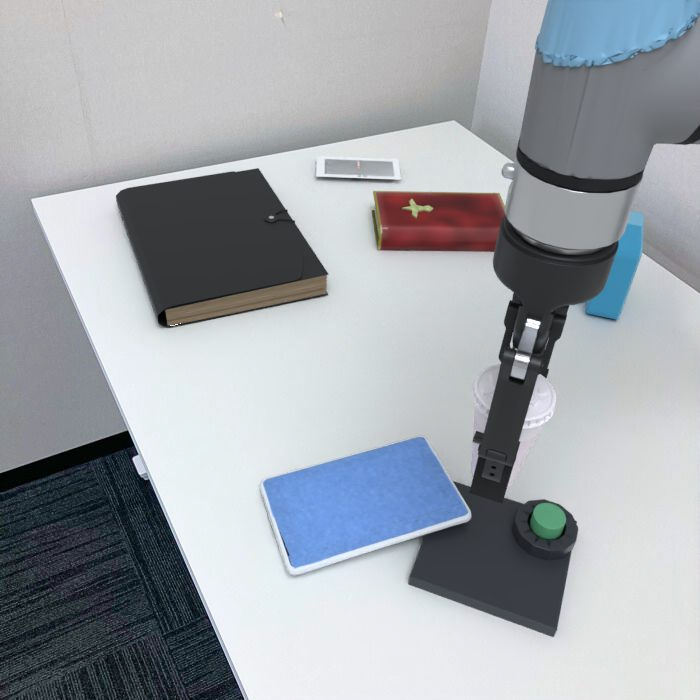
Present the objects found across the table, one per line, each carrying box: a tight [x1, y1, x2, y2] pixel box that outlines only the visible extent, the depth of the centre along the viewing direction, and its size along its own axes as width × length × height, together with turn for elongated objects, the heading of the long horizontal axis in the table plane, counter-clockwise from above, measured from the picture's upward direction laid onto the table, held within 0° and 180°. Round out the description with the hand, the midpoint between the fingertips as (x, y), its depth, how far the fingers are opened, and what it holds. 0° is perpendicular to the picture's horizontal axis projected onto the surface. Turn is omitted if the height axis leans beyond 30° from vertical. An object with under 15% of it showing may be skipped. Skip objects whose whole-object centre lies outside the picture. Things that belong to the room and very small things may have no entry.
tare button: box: [530, 503, 566, 539], centre depth 74 cm, size 3×3×2 cm
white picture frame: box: [315, 155, 402, 181], centre depth 134 cm, size 8×15×2 cm, turn 91°
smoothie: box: [470, 348, 557, 489], centre depth 59 cm, size 6×6×14 cm
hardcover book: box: [371, 190, 505, 252], centre depth 120 cm, size 12×21×4 cm, turn 93°
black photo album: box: [115, 167, 329, 328], centre depth 113 cm, size 33×4×24 cm
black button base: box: [407, 480, 579, 638], centre depth 74 cm, size 14×13×3 cm
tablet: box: [259, 435, 471, 577], centre depth 77 cm, size 19×13×1 cm, turn 109°
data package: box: [585, 210, 645, 321], centre depth 106 cm, size 12×4×12 cm, turn 163°
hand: (496, 464), depth 63 cm, fingers closed on smoothie, 6 cm apart
